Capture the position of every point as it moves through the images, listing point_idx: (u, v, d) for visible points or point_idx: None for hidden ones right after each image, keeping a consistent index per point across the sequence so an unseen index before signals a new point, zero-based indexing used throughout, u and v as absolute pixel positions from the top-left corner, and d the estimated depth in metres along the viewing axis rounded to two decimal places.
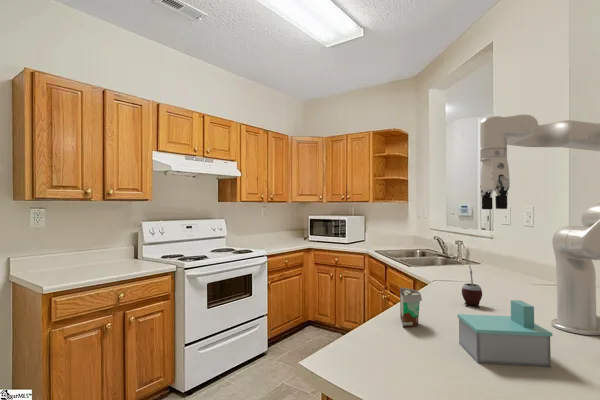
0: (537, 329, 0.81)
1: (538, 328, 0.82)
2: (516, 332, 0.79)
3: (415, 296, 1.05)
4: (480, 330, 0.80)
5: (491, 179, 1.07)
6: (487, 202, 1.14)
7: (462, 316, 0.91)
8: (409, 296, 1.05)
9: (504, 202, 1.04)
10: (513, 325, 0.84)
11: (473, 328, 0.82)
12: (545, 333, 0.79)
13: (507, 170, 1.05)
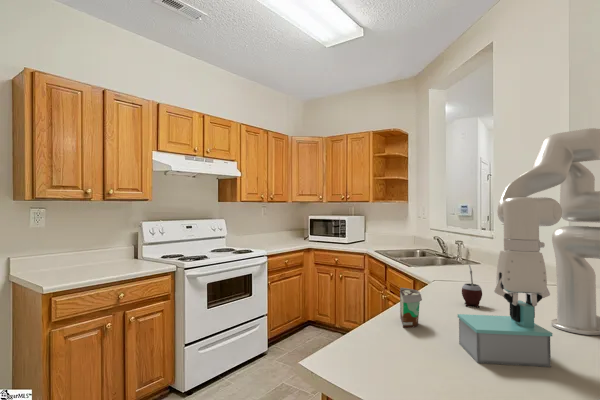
0: (537, 329, 0.81)
1: (538, 328, 0.82)
2: (516, 332, 0.79)
3: (415, 296, 1.05)
4: (480, 330, 0.80)
5: (541, 280, 0.83)
6: None
7: (462, 316, 0.91)
8: (409, 296, 1.04)
9: None
10: (513, 325, 0.84)
11: (473, 328, 0.82)
12: (545, 333, 0.79)
13: None
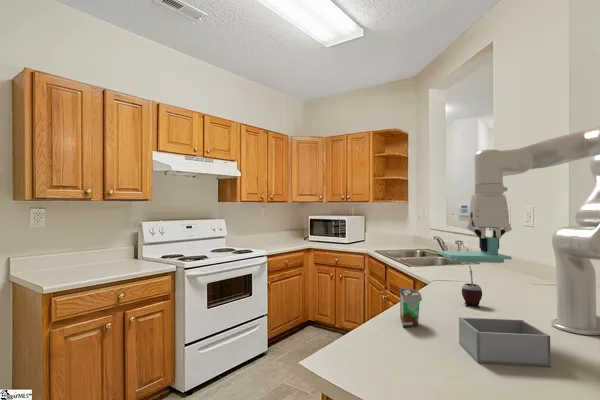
0: (500, 255, 0.99)
1: (501, 255, 1.00)
2: (482, 256, 0.98)
3: (415, 296, 1.05)
4: (453, 256, 0.99)
5: (504, 217, 1.02)
6: None
7: (441, 251, 1.09)
8: (409, 296, 1.05)
9: None
10: (481, 254, 1.02)
11: (448, 255, 1.01)
12: (505, 257, 0.97)
13: None
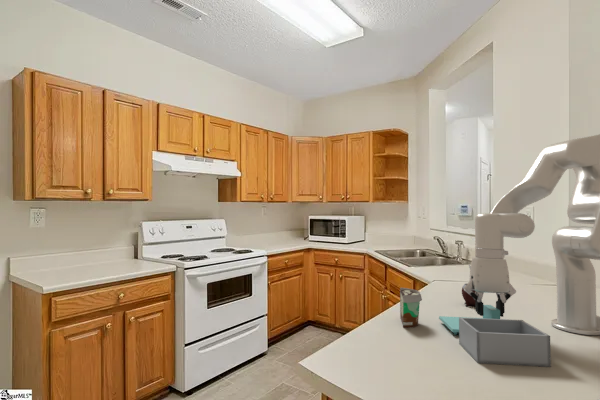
0: None
1: None
2: None
3: (415, 296, 1.05)
4: (455, 329, 0.98)
5: (505, 282, 1.01)
6: None
7: (442, 318, 1.08)
8: (409, 296, 1.04)
9: None
10: None
11: (450, 328, 1.00)
12: None
13: None
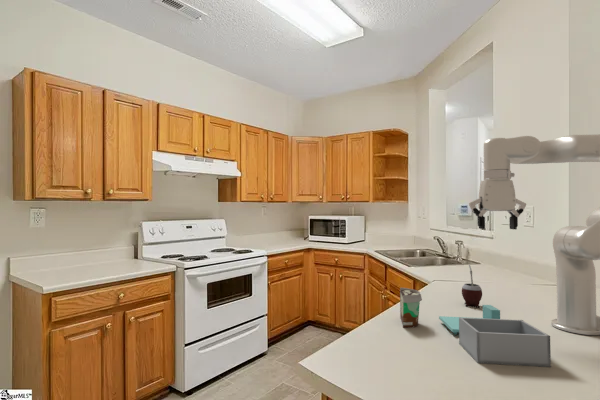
0: None
1: None
2: None
3: (415, 296, 1.05)
4: (455, 329, 0.98)
5: (511, 200, 1.09)
6: None
7: (442, 318, 1.08)
8: (409, 296, 1.04)
9: None
10: None
11: (450, 328, 1.00)
12: None
13: None
